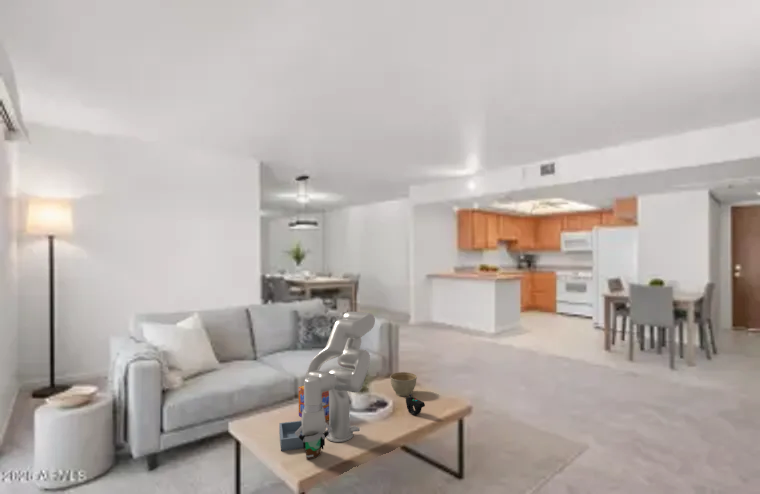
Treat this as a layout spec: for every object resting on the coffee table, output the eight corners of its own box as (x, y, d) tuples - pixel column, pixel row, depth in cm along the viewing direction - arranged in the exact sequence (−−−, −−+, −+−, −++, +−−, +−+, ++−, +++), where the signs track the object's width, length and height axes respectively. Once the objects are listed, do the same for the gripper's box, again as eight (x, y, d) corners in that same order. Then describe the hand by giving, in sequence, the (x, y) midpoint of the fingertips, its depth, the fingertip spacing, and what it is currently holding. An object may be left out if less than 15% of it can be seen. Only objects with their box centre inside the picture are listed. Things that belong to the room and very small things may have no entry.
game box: (340, 415, 219) (339, 386, 219) (316, 424, 208) (315, 393, 208) (322, 408, 230) (322, 379, 230) (298, 416, 219) (298, 386, 219)
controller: (410, 410, 226) (410, 392, 226) (426, 417, 216) (426, 398, 216) (404, 412, 223) (404, 393, 223) (420, 419, 214) (420, 400, 214)
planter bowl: (384, 394, 251) (384, 376, 251) (400, 387, 263) (400, 370, 263) (406, 400, 240) (406, 382, 241) (422, 393, 253) (421, 375, 253)
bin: (304, 430, 201) (304, 420, 201) (308, 447, 184) (308, 436, 184) (279, 433, 198) (279, 423, 198) (280, 451, 181) (280, 439, 181)
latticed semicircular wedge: (320, 461, 171) (319, 437, 171) (305, 461, 172) (304, 437, 172) (326, 446, 184) (325, 423, 183) (312, 445, 184) (312, 423, 184)
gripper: (332, 401, 183) (332, 441, 183) (292, 405, 178) (292, 447, 178) (334, 407, 176) (335, 449, 176) (293, 412, 171) (294, 456, 171)
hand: (314, 448), depth 177 cm, fingers closed on latticed semicircular wedge, 6 cm apart
